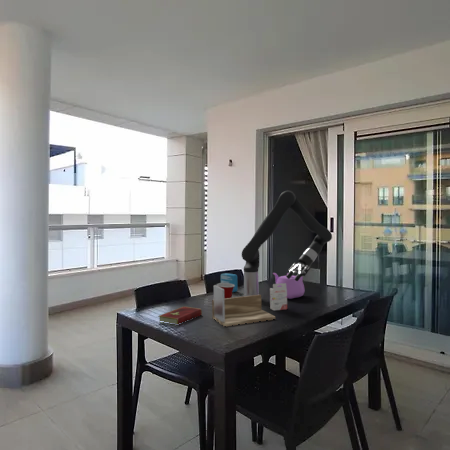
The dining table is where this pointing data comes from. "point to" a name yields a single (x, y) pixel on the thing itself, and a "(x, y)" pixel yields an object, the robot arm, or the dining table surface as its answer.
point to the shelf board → (243, 310)
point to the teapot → (291, 285)
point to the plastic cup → (226, 289)
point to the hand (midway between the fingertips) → (291, 279)
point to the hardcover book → (180, 315)
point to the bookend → (219, 303)
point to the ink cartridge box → (278, 297)
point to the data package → (230, 280)
